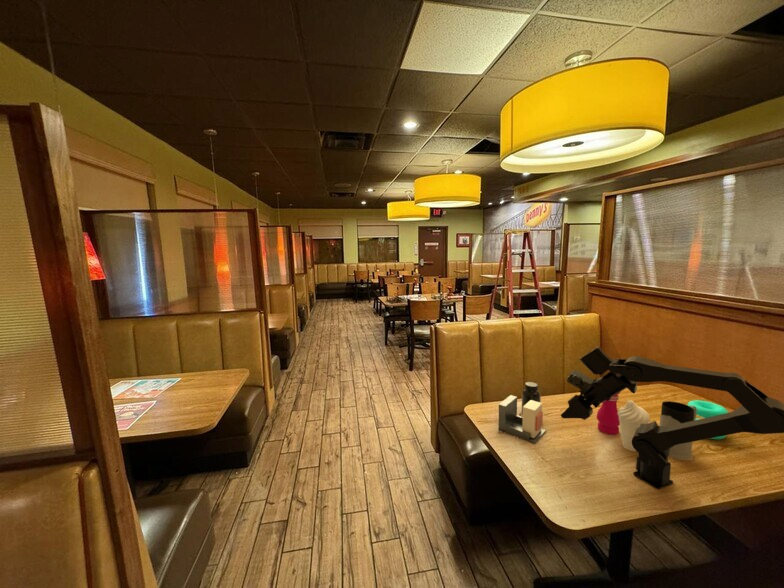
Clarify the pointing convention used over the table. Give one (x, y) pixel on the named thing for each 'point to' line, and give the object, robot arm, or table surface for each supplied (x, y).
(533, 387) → the supplement bottle
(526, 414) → the cream block orange label
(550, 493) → the table surface
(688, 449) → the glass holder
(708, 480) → the table surface
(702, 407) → the donuts
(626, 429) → the soft serve ice cream cone
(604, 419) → the pepper mill
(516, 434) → the press stand
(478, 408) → the table surface
